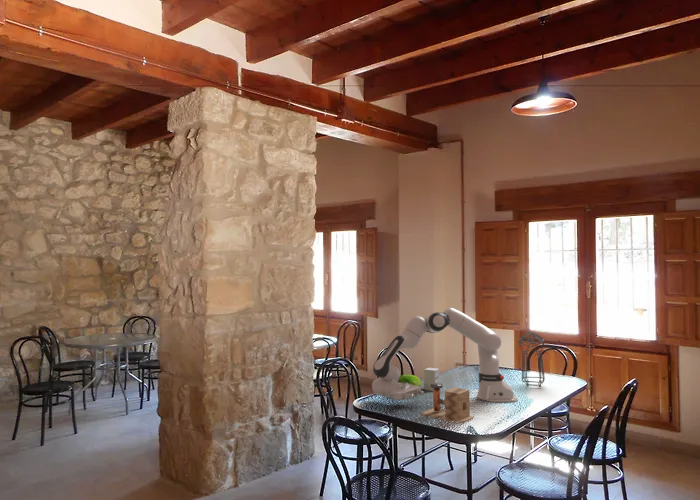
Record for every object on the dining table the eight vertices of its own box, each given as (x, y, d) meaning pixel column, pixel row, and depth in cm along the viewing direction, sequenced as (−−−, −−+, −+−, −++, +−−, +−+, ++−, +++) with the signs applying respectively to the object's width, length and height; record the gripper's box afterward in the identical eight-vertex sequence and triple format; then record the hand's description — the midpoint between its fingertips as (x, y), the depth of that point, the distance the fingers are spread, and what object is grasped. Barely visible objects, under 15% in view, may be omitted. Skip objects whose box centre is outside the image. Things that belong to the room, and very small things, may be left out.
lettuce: (429, 393, 307) (429, 373, 307) (408, 399, 293) (408, 378, 293) (411, 389, 317) (411, 369, 317) (390, 394, 303) (390, 374, 303)
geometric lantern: (546, 390, 313) (544, 333, 314) (519, 389, 318) (517, 332, 319) (546, 384, 327) (544, 330, 328) (521, 383, 333) (518, 329, 334)
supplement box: (434, 391, 311) (434, 370, 311) (423, 389, 315) (423, 369, 315) (439, 388, 317) (439, 368, 318) (428, 387, 321) (428, 367, 322)
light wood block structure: (420, 414, 262) (420, 387, 262) (433, 409, 271) (433, 383, 271) (462, 424, 246) (461, 394, 246) (474, 418, 255) (474, 390, 255)
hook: (428, 410, 262) (428, 384, 262) (435, 408, 266) (434, 382, 267) (459, 417, 250) (459, 390, 250) (465, 414, 254) (465, 388, 255)
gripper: (385, 388, 272) (406, 392, 263) (407, 381, 287) (428, 385, 278) (385, 400, 272) (406, 404, 262) (407, 393, 287) (428, 397, 278)
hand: (418, 395), depth 270 cm, fingers open, 8 cm apart
